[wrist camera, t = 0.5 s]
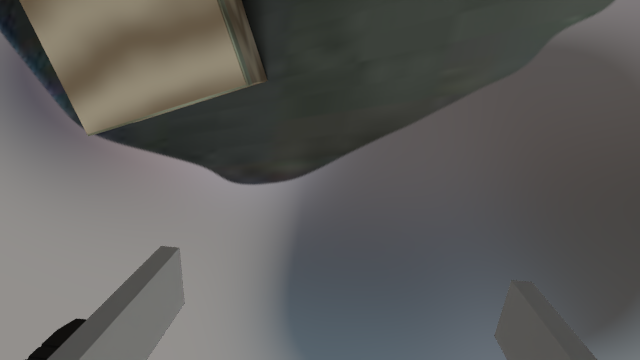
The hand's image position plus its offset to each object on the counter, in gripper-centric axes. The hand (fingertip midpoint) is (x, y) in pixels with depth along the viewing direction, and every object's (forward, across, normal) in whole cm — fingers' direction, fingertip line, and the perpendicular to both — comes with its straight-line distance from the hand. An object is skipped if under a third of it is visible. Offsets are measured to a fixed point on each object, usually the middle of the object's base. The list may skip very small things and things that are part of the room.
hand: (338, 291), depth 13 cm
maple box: (+26, -18, +9) cm, 33 cm away
